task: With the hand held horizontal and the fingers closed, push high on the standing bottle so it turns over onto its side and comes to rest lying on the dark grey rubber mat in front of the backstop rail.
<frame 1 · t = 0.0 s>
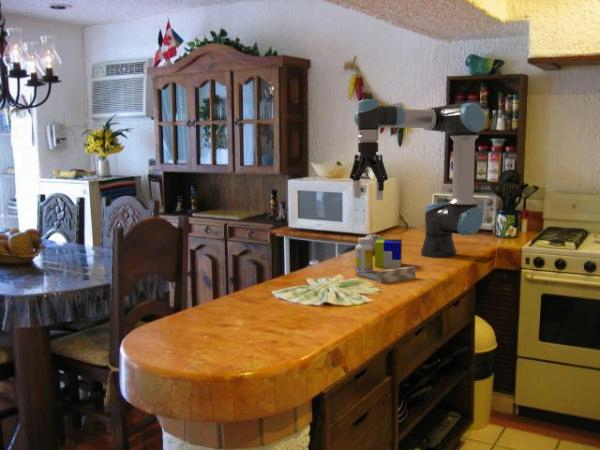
hand: (368, 198, 232), 28 cm above the counter, tool pointing down, fingers open, 13 cm apart
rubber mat: (382, 276, 227), on the counter
puzzle toy: (388, 266, 249), on the counter
backstop rail: (396, 280, 220), on the counter
supplement bottle: (364, 272, 236), on the counter
decorative fruit: (373, 254, 277), on the counter
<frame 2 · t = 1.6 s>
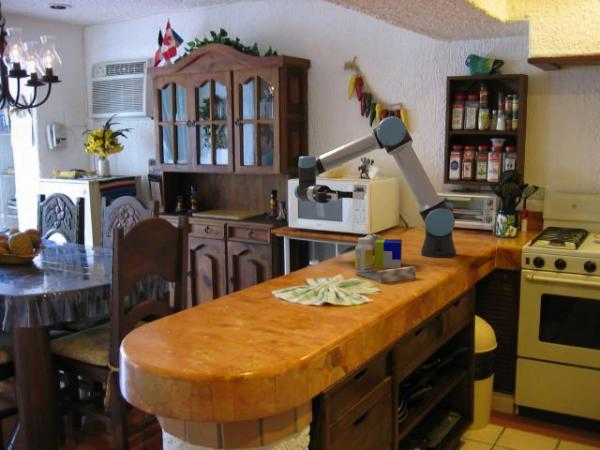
hand: (350, 196, 241), 28 cm above the counter, tool horizontal, fingers open, 12 cm apart
nothing on the counter moved.
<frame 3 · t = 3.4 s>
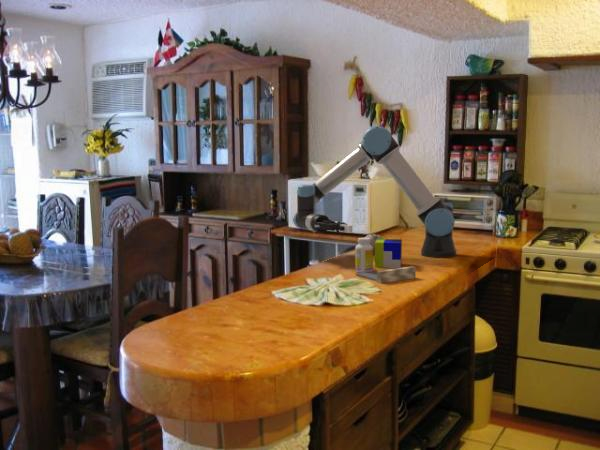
hand: (350, 229, 241), 16 cm above the counter, tool horizontal, fingers closed
nothing on the counter moved.
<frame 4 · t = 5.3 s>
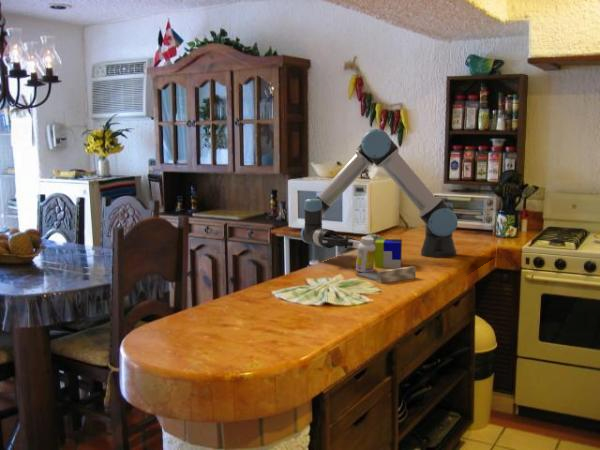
hand: (359, 245, 237), 10 cm above the counter, tool horizontal, fingers closed
supplement bottle: (364, 270, 236), on the counter, touching gripper
everything else where it was.
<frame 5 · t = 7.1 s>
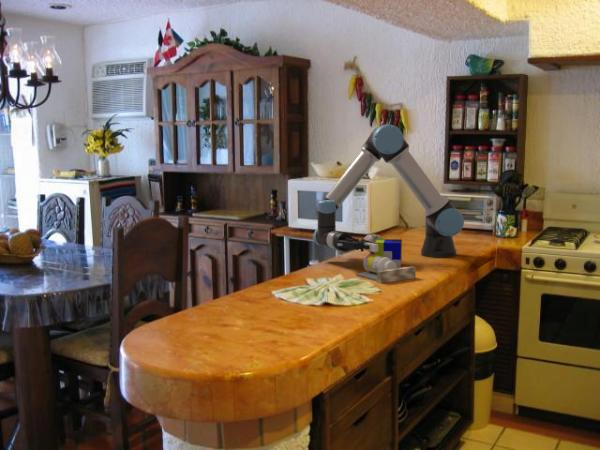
hand: (376, 248, 229), 10 cm above the counter, tool horizontal, fingers closed
supplement bottle: (369, 262, 234), point 4 cm above the counter, touching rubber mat
everything else where it was.
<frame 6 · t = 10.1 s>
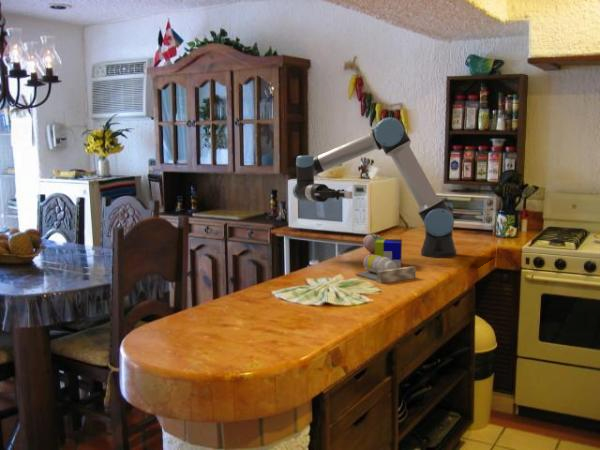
hand: (350, 195, 240), 29 cm above the counter, tool horizontal, fingers closed
nothing on the counter moved.
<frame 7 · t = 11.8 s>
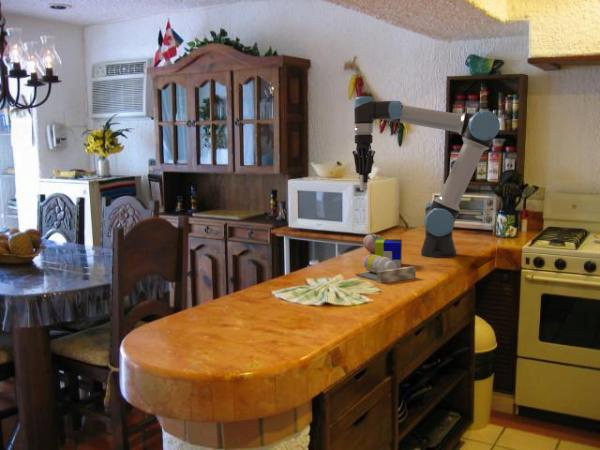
hand: (363, 190, 263), 29 cm above the counter, tool pointing down, fingers closed
nothing on the counter moved.
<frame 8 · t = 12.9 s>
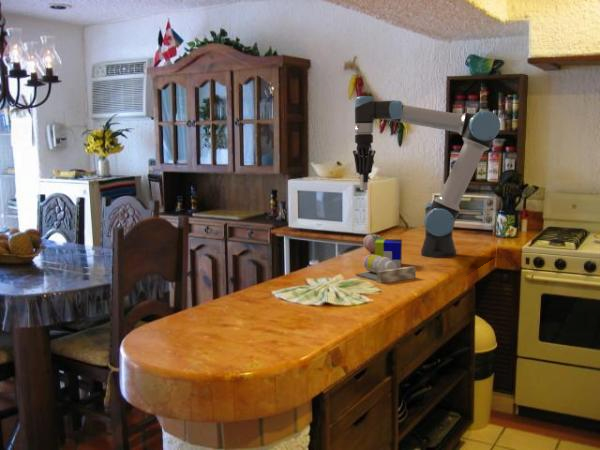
hand: (363, 189, 262), 29 cm above the counter, tool pointing down, fingers closed
nothing on the counter moved.
at the end: supplement bottle tilted 91°; supplement bottle inside the target area (6.8 cm from its centre), point 4.0 cm above the counter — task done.
